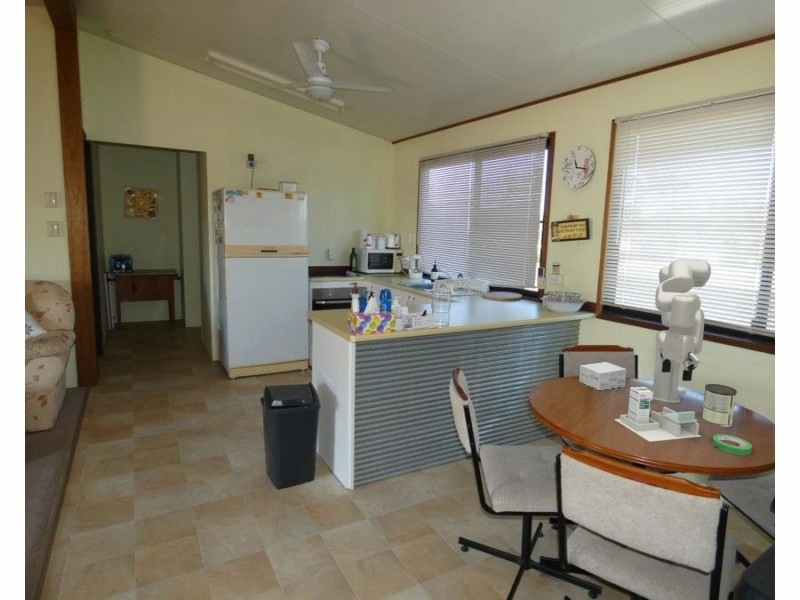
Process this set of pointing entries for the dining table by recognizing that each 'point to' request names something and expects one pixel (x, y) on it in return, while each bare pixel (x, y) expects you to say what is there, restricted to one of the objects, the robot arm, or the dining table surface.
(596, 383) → the supplement box
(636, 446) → the dining table surface
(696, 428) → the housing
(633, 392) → the syrup box
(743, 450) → the tape roll
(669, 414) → the lid
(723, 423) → the coffee can
